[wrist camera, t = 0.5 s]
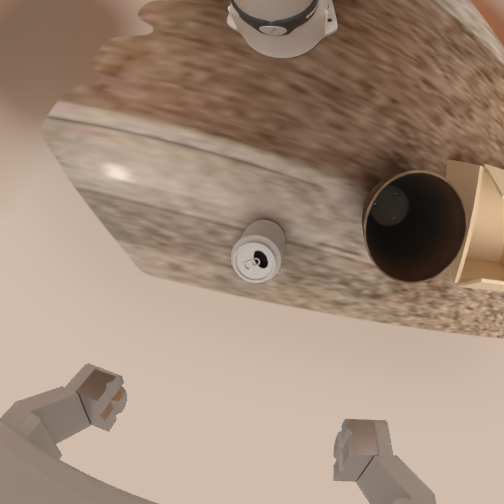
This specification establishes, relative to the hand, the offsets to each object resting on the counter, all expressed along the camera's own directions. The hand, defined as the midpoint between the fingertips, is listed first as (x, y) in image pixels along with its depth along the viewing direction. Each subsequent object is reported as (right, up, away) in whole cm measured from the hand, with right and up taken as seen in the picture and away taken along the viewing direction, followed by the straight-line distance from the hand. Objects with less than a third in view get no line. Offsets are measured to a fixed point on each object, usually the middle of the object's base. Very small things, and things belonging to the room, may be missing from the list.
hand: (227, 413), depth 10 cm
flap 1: (+40, 0, +26) cm, 48 cm away
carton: (+43, +12, +37) cm, 58 cm away
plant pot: (+24, +14, +40) cm, 49 cm away
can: (+3, +8, +46) cm, 47 cm away
